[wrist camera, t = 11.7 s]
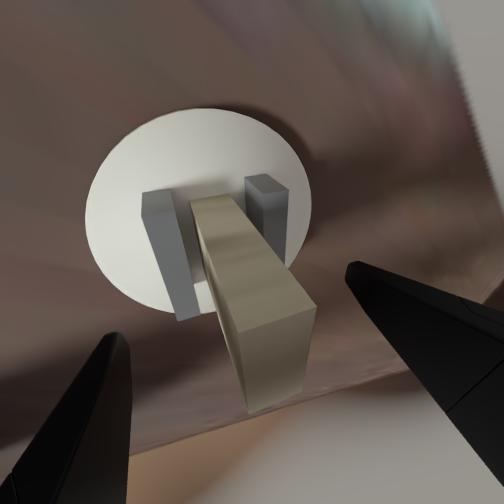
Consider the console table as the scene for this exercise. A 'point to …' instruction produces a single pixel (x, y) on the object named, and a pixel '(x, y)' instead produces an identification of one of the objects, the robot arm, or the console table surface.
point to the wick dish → (177, 202)
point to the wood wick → (254, 303)
